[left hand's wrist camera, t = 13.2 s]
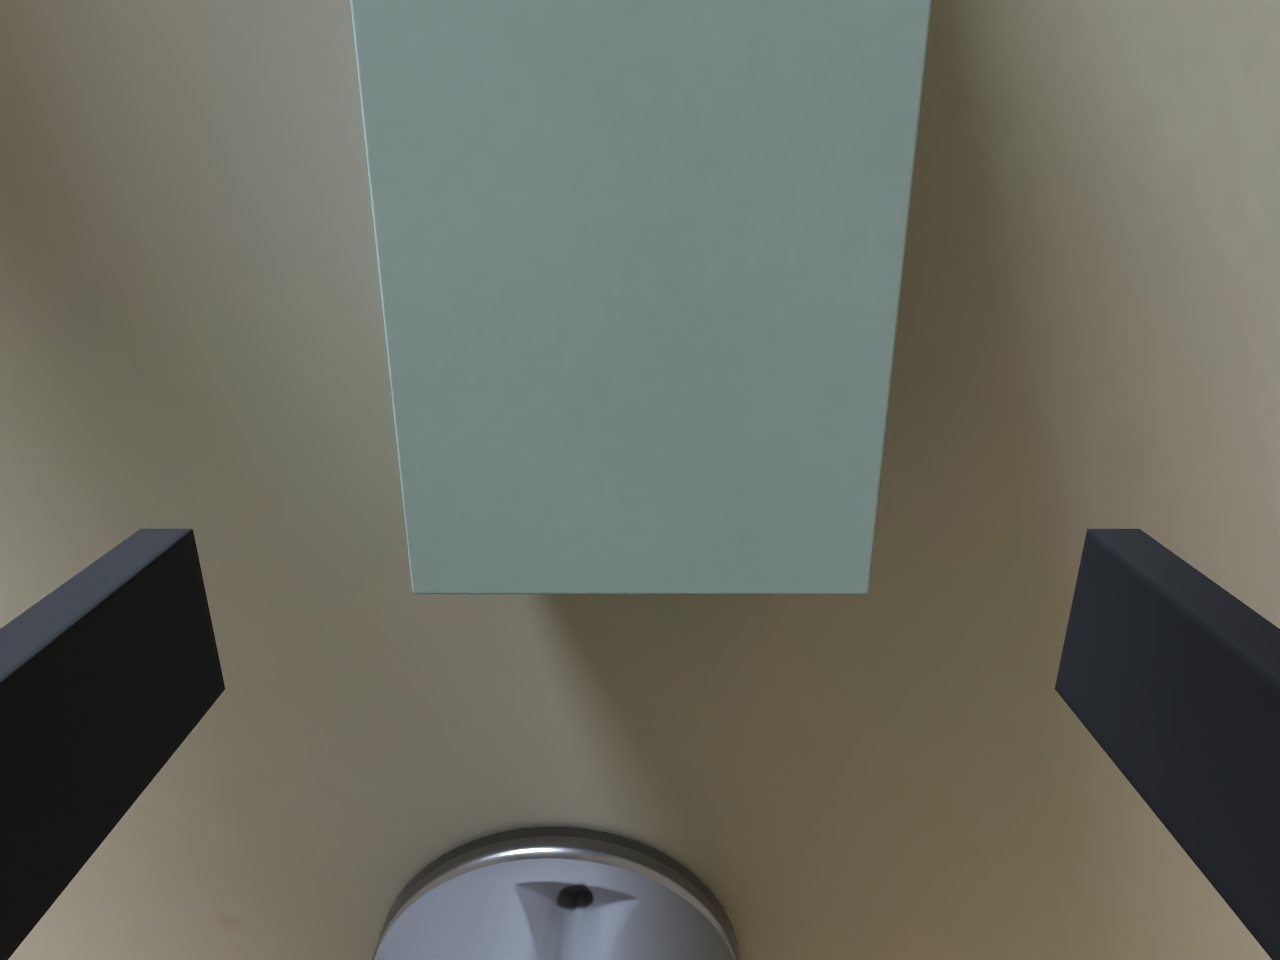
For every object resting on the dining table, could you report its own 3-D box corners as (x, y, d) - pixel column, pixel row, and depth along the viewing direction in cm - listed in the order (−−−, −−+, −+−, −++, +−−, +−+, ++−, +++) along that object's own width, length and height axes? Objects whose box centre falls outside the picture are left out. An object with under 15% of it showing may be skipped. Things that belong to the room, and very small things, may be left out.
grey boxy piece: (432, -169, 22) (310, -370, 14) (849, -169, 22) (973, -369, 14) (477, 473, 28) (411, 595, 20) (802, 473, 28) (868, 595, 20)
